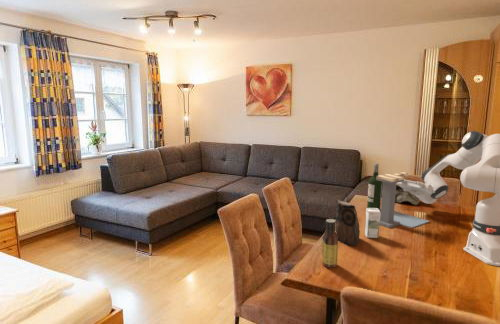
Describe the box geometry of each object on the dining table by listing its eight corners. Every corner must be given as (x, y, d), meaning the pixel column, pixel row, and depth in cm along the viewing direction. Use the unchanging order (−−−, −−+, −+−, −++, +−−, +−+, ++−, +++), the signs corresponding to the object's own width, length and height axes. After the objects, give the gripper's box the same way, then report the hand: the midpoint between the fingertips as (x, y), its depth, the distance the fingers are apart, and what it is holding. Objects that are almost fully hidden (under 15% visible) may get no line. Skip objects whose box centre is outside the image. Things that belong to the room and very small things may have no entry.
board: (397, 174, 195) (397, 171, 195) (413, 177, 187) (413, 174, 187) (376, 178, 185) (376, 174, 184) (392, 181, 176) (392, 178, 176)
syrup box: (375, 234, 172) (377, 207, 170) (378, 238, 166) (380, 211, 164) (364, 233, 173) (365, 207, 170) (367, 238, 167) (368, 210, 165)
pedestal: (384, 219, 194) (387, 176, 190) (399, 224, 186) (403, 179, 182) (373, 222, 189) (376, 178, 185) (389, 228, 181) (392, 181, 176)
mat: (392, 211, 210) (392, 210, 210) (429, 222, 190) (429, 221, 190) (374, 216, 200) (374, 215, 200) (411, 228, 180) (411, 227, 180)
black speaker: (357, 247, 156) (359, 207, 153) (330, 243, 161) (332, 203, 158) (360, 238, 167) (362, 200, 164) (335, 234, 172) (336, 197, 169)
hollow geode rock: (376, 205, 238) (373, 193, 228) (380, 190, 245) (377, 178, 234) (420, 210, 223) (419, 198, 213) (422, 194, 229) (421, 182, 219)
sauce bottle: (326, 260, 144) (327, 216, 140) (339, 264, 140) (341, 219, 136) (318, 265, 139) (320, 220, 135) (332, 270, 135) (334, 224, 131)
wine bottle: (364, 208, 216) (367, 162, 211) (374, 207, 218) (377, 162, 213) (372, 211, 208) (375, 165, 203) (382, 210, 211) (386, 164, 206)
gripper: (434, 198, 193) (424, 189, 186) (402, 190, 210) (391, 182, 202) (438, 188, 194) (428, 179, 186) (405, 181, 211) (395, 173, 203)
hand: (409, 180), depth 195 cm, fingers open, 8 cm apart
